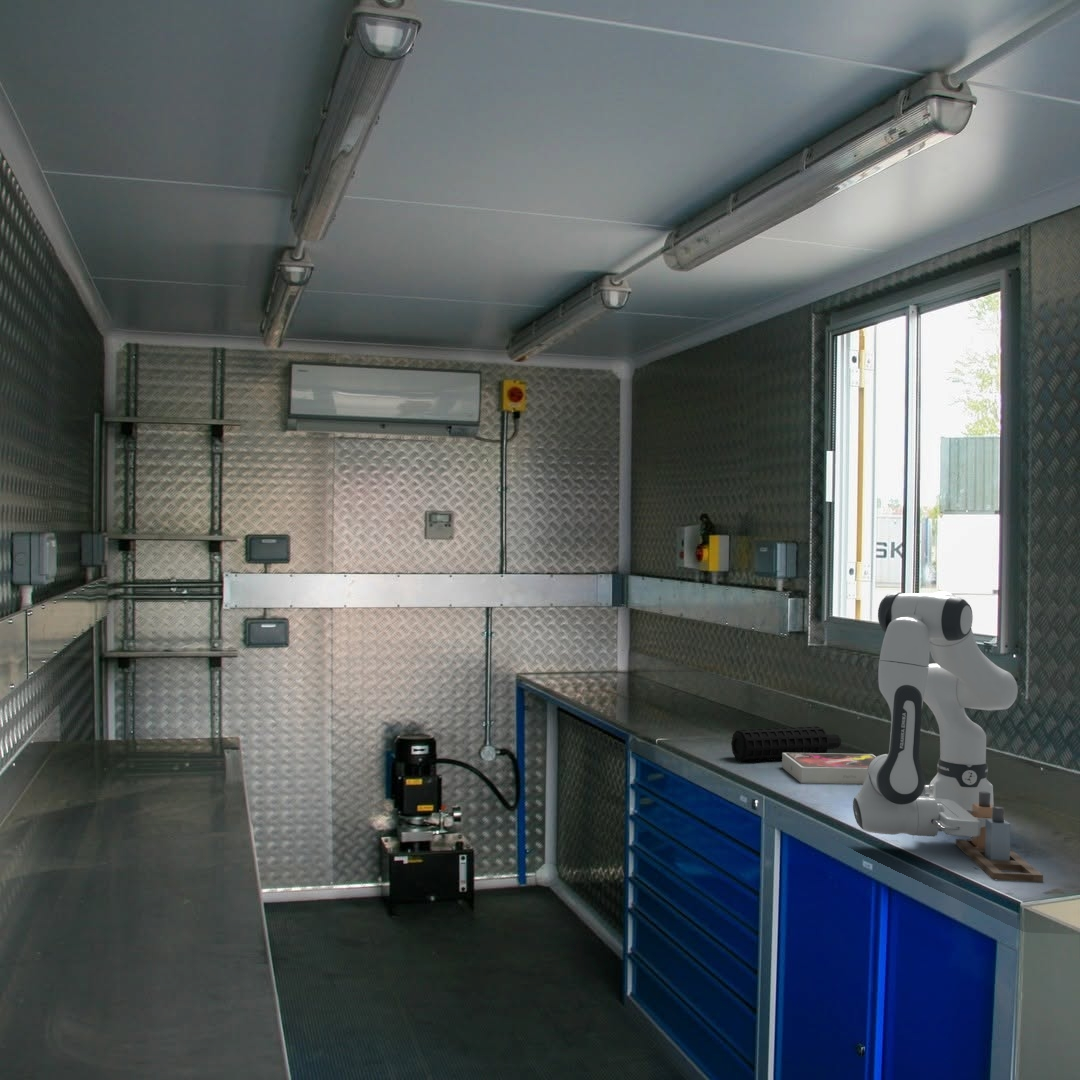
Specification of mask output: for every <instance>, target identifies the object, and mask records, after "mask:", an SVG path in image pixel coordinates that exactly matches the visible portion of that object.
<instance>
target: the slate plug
mask: <svg viewBox="0 0 1080 1080" xmlns="http://www.w3.org/2000/svg"><path fill="white" fill-rule="evenodd" d="M1010 849H1011V823H1010V822H1008V821H1007V820H1006V819H1005V807H1002V806H994V807H992V819H986V826H985V858H987V859H988V860H1009V861H1010Z"/></svg>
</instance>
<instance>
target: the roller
mask: <svg viewBox="0 0 1080 1080" xmlns="http://www.w3.org/2000/svg"><path fill="white" fill-rule="evenodd" d="M841 745H842V738H841V736H840V735H839V734H835V733H827V732H826V731H825V729H824V728H823V727H821V726H804V727H803V726H802V727H801V726H800V727H799V726H798V727H797V726H796V727H780V728H779V727H777V728H776V727H775V728H757V729H756V728H755V729H754V728H753V729H737V730H736V731H734V733H732V737H731V745H730V746H731V752H732V754H733V756H734V758H735V760H736V761H738V762H740V763H744V762H745V763H747V762H762V761H763V762H764V761H765V762H767V761H768V762H769V761H780V760H781V761H782V753H828V751H829V750H834V749H838V748H840V747H841Z"/></svg>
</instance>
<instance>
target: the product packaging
mask: <svg viewBox="0 0 1080 1080" xmlns="http://www.w3.org/2000/svg"><path fill="white" fill-rule="evenodd" d="M875 757H877V756H876V755H874V754H873V753H831V752H830V753H828V752H827V753H782V760H781V768H782V769H784V770H785V771H786V772H787V773H788V774H790V775H791V776H792V777H793V778H795V779H796V780H797V781H798V782H799V783H801V784H837V785H838V784H840V785H841V784H843V785H848V784H849V785H850V784H851V785H863V783H864V781H865V778H866V774H867V769H868V766H869V764H870V762H871V761H872V760H873V759H874V758H875Z"/></svg>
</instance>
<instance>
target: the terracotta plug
mask: <svg viewBox="0 0 1080 1080" xmlns="http://www.w3.org/2000/svg"><path fill="white" fill-rule="evenodd" d="M992 807H994V806H992V805H991V804H990V793H989V792H979V804H976V803H973V807H972V815H973V816H974V817H977V818H983V817H990V818H991V819H992ZM971 840H972V843H973V844H974V845H975V846H976V847H984V848H985V827H981V829H980V836H978V837H971Z"/></svg>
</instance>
